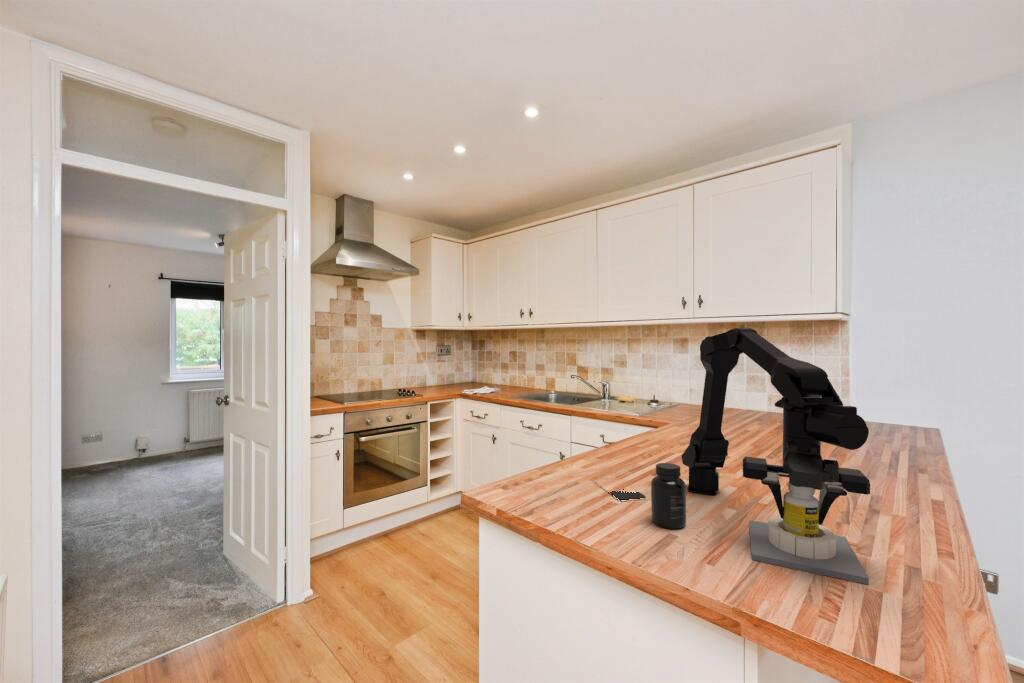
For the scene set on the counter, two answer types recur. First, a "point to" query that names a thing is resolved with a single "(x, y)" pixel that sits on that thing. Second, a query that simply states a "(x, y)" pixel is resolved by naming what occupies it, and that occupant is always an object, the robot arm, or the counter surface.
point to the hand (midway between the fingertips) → (800, 520)
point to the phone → (627, 495)
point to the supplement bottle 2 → (801, 511)
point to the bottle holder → (805, 551)
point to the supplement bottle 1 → (668, 497)
